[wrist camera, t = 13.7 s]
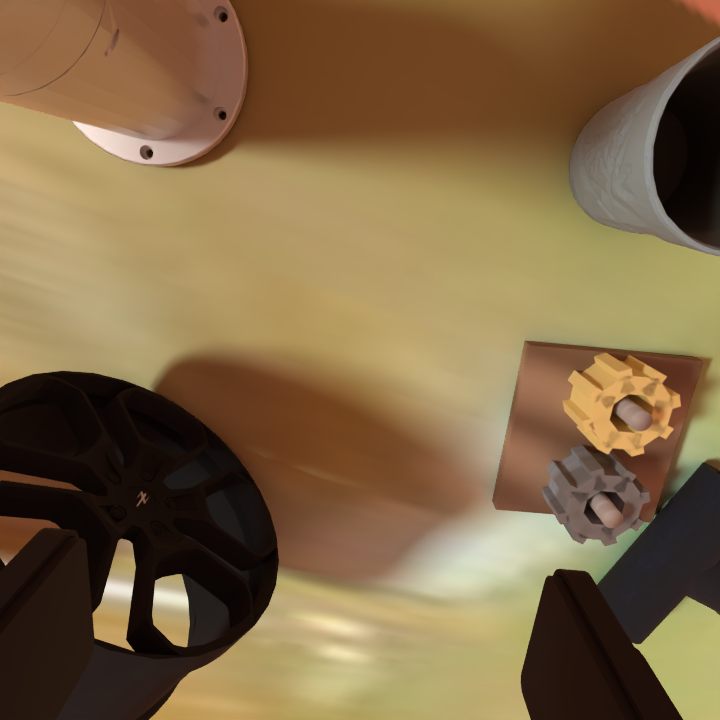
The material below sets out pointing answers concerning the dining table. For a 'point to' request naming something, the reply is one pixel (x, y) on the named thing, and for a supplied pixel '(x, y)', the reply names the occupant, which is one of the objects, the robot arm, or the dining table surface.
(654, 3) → the dining table surface
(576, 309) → the dining table surface
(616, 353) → the board
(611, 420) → the ochre gear
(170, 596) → the dining table surface
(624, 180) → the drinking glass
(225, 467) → the car wheel rim
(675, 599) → the pipe connector
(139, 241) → the dining table surface
